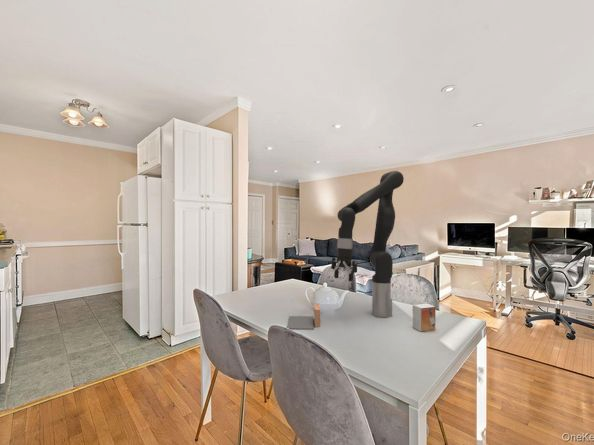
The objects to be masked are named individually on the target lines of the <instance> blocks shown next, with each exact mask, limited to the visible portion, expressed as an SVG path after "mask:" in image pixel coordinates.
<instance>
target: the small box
mask: <svg viewBox="0 0 594 445" xmlns="http://www.w3.org/2000/svg"><path fill="white" fill-rule="evenodd" d="M412 328H413V329H415V330H417V331H420V332H421V333H422V332H428V331H436V306H434V305H432V304H429V303H420V304H412Z"/></svg>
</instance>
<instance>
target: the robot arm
mask: <svg viewBox="0 0 594 445" xmlns="http://www.w3.org/2000/svg"><path fill="white" fill-rule="evenodd" d="M404 180H405V179H404V175H403V173H402V172H400V171H398V170H392V171H389V172H386V173H383V174H382V176H381V178H380V181H379V183H378V184H377V185H376V186H374V187H373V188H371V189H369V190H367V191H365V192H364V193H362V194H361V195H359V196H358V197H357V198H355V200H353V201H352V202H350V203H348V204H347V205H346V206H344V207H342V208H341V209H339V211H338V212H337V219H338V221H340V223H341V225H340V227H339V228H338V236H337V245H336V256H337V257H332V258H331V265H330V266H331V267H330V268H331V269H332V270H333V271H334V273H333V274H334V276H333V277H334V279H339V275H340V272H339V271H340V269H341V268H343V269H346V270H347V272H348V282H352V281H353V280H354V274H355V273H357V272H358V260H357V259H356V260H354V259H352V258H353V244H354V243H353V230H354V226H355V222H356V215H357V214H359V213H362V212H364V211H365V210H366V209H368V208H369V207H370V206H371V205H373V204H374V203H376V202H377V201H378V205H377V213H376V220H375V227H374V235H373V242H372V247H371V251H370V256H369V261H370V264H371V266H373V267H374V270H375V271H374V274H373V275H372V276H371V282H372V283H371V284H372V285H371V286H372V287H371V288H372V289H371V294H372V296H371V298H372V299H371V300H372V302H371V303H372V305H371V308H372V309H371V310H372V311H371V313H372V315H373V316H374V317H378V318H389V317H390V318H391V317H393V297H391V295H392V294H391V292H392V290H391V287H392V286H391V283H392V282H391V280H392V276H393V264H394V263H393V257H392V254H390V253H389V252H387V251H386V250H387V244H388V240H389V239H390V236H391V234H392V232H393V230H394V228H395V223H396V222H395V221H396V211H395V207H394V203H393V195H394V194H393V193H394V190H396V189H398V188H399V187H401V186H402V185H403V184H404Z"/></svg>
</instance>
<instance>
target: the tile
mask: <svg viewBox="0 0 594 445" xmlns="http://www.w3.org/2000/svg"><path fill="white" fill-rule="evenodd" d="M313 305H314V308H313V312H314V314H313V315H314V316H313V317H314V318H313V322H314V327H315V328H321V306H320V303H314V304H313Z"/></svg>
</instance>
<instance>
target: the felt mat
mask: <svg viewBox="0 0 594 445" xmlns="http://www.w3.org/2000/svg"><path fill="white" fill-rule="evenodd" d="M313 317H314V316H312V315H308V316H307V315H288V322H287V327H286V328H289V329H288V330H314V327H315V326H314V318H313Z"/></svg>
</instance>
